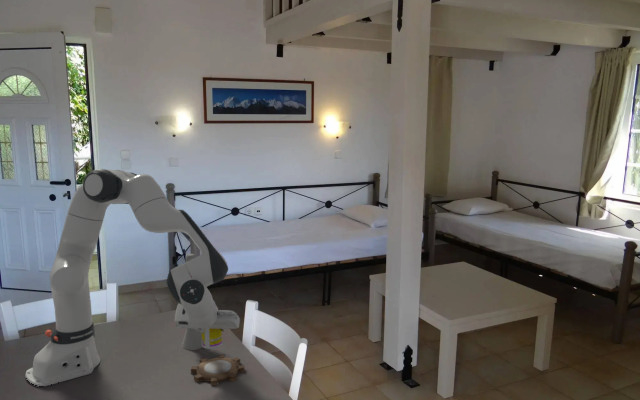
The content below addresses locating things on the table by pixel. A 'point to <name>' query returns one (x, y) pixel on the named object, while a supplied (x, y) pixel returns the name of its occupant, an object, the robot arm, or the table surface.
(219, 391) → the table surface
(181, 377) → the table surface
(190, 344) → the lava lamp
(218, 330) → the supplement bottle
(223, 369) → the gear platform
